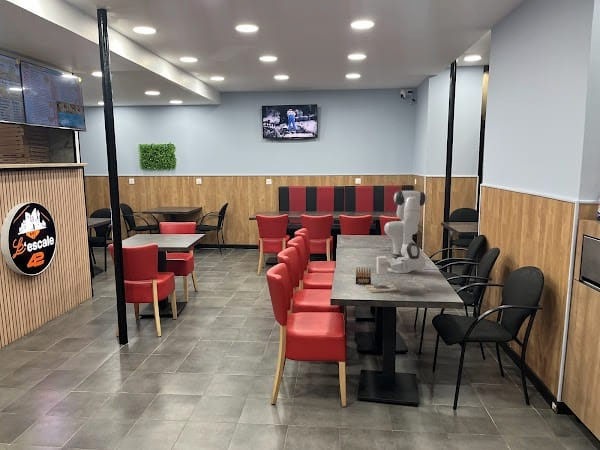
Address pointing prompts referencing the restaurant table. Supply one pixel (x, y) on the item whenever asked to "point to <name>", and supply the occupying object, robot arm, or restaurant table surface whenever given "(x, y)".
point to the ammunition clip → (363, 276)
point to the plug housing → (379, 262)
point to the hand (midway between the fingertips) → (380, 264)
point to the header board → (381, 288)
